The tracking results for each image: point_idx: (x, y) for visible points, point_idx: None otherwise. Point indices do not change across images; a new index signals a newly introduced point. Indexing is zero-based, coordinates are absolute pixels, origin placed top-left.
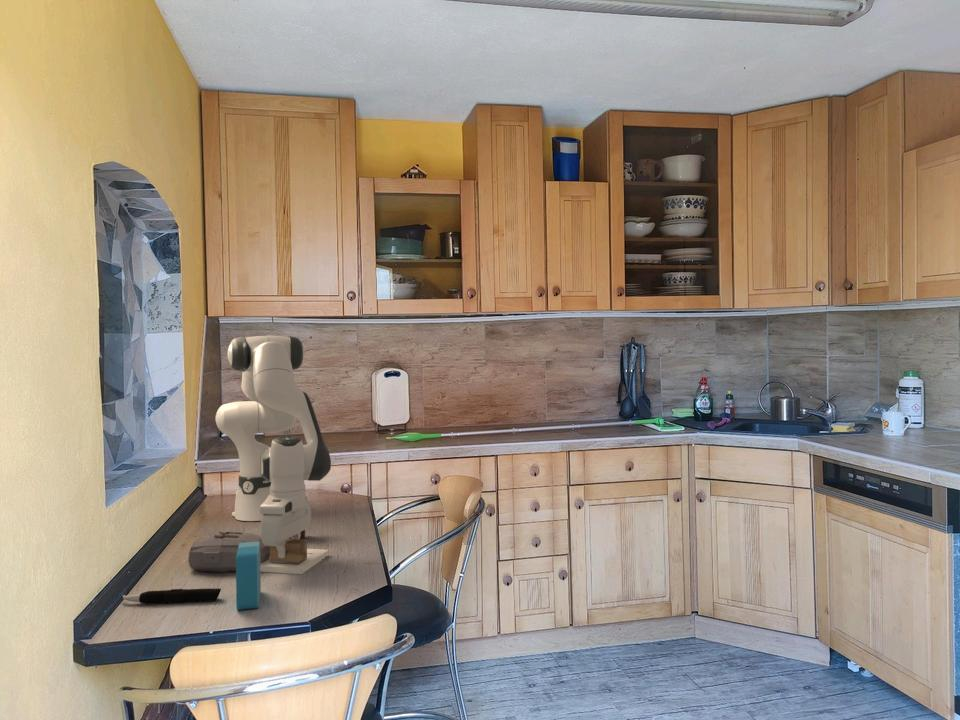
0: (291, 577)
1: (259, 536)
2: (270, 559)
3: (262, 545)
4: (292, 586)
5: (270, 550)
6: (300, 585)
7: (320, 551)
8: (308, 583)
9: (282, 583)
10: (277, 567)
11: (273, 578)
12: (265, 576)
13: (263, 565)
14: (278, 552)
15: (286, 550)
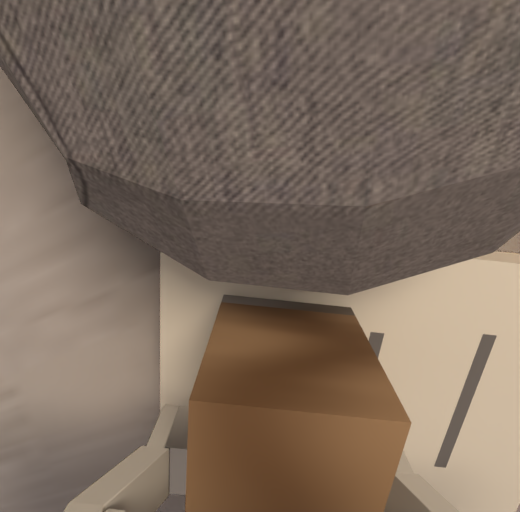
0: (120, 426)
1: (515, 132)
2: (221, 308)
3: (249, 268)
4: (11, 463)
5: (205, 352)
6: (33, 486)
7: (481, 493)
8: (66, 506)
9: (30, 415)
10: (162, 361)
11: (83, 353)
12: (101, 301)
13: (169, 269)
14: (150, 437)
15: (183, 491)
